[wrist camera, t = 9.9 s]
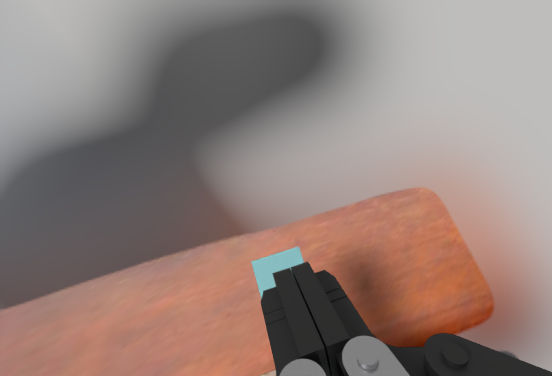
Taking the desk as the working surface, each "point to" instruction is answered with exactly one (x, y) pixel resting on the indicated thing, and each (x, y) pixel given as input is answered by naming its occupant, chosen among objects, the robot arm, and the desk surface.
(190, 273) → the desk surface
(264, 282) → the flap
